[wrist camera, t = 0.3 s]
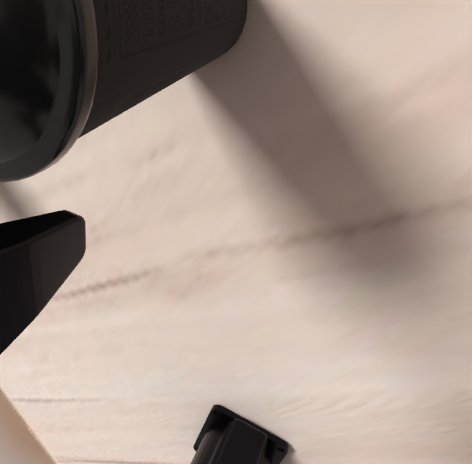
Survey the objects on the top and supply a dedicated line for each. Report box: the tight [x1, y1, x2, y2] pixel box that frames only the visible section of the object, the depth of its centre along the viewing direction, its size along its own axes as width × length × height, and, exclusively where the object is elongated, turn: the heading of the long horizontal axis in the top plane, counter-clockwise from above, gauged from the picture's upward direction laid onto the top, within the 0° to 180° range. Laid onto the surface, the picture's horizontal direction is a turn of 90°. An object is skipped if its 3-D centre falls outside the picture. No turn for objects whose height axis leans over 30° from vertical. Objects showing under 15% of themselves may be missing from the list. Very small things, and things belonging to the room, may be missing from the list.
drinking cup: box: [0, 0, 247, 182], centre depth 12 cm, size 8×8×20 cm
